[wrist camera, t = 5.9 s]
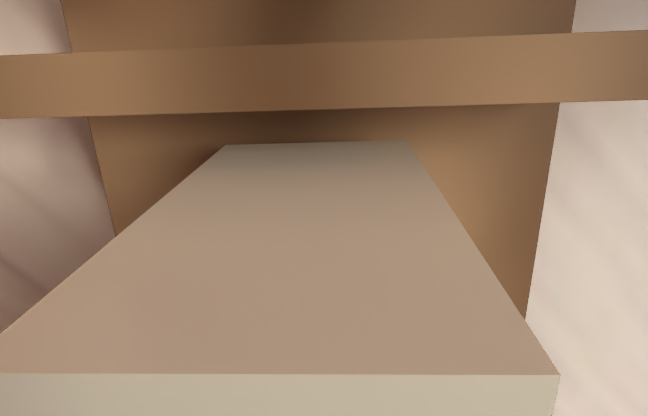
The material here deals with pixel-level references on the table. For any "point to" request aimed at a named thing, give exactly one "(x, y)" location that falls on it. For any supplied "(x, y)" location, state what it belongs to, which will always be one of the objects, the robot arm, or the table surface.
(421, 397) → the cream rectangular block
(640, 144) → the table surface
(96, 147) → the rack
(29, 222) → the table surface
